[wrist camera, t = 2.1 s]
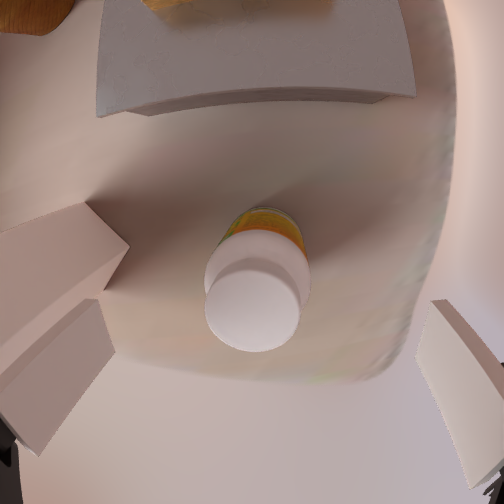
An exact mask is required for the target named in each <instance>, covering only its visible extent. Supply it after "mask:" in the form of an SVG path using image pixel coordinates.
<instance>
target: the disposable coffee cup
mask: <svg viewBox="0 0 504 504" xmlns="http://www.w3.org/2000/svg"><path fill="white" fill-rule="evenodd" d="M74 2H75V0H0V32H4V33H21V34H30V35H38V36H43V35H46V34H48V33H49V32H51V31H52V30H54V29H55V28H56V27H57V26H58V25H59V24H60V23H61V22H62V21H63V20H64V18H65V17H66V16H67V14H68V13H69V11H70V10H71V8H72V6H73V4H74Z"/></svg>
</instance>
